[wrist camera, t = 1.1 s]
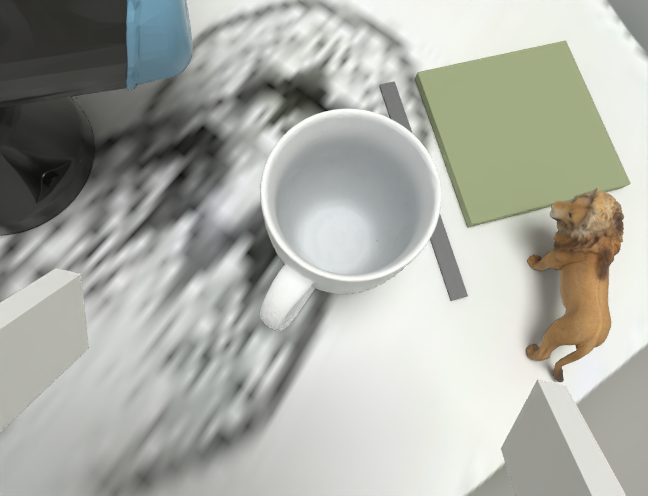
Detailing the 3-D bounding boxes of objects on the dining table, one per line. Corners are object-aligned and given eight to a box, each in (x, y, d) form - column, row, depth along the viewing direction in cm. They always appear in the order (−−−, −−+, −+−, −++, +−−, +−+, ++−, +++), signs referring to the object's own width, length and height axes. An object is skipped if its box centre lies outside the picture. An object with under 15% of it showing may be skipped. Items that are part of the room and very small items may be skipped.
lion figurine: (508, 217, 38) (569, 180, 29) (564, 217, 38) (640, 181, 29) (527, 381, 35) (601, 395, 26) (587, 381, 35) (681, 394, 26)
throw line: (379, 86, 40) (380, 84, 40) (393, 83, 41) (394, 81, 40) (450, 300, 36) (452, 300, 36) (466, 296, 36) (467, 296, 36)
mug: (328, 366, 34) (342, 382, 22) (223, 293, 35) (177, 267, 23) (418, 227, 37) (477, 168, 25) (320, 163, 38) (327, 75, 26)
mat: (415, 78, 41) (417, 72, 40) (559, 47, 42) (565, 40, 41) (467, 227, 38) (472, 224, 37) (622, 187, 39) (630, 183, 38)
